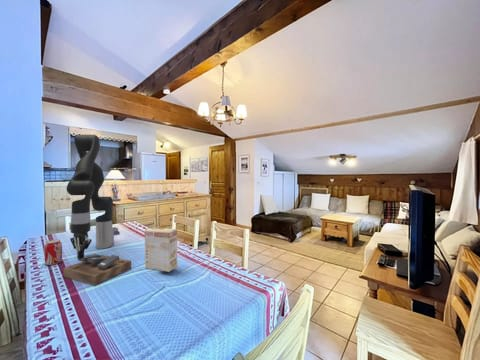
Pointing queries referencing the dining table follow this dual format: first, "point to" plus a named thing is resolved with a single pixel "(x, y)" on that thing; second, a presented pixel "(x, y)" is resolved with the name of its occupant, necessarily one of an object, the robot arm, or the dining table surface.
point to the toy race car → (115, 231)
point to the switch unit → (96, 271)
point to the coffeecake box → (161, 249)
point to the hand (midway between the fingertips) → (80, 258)
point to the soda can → (53, 252)
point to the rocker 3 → (108, 262)
